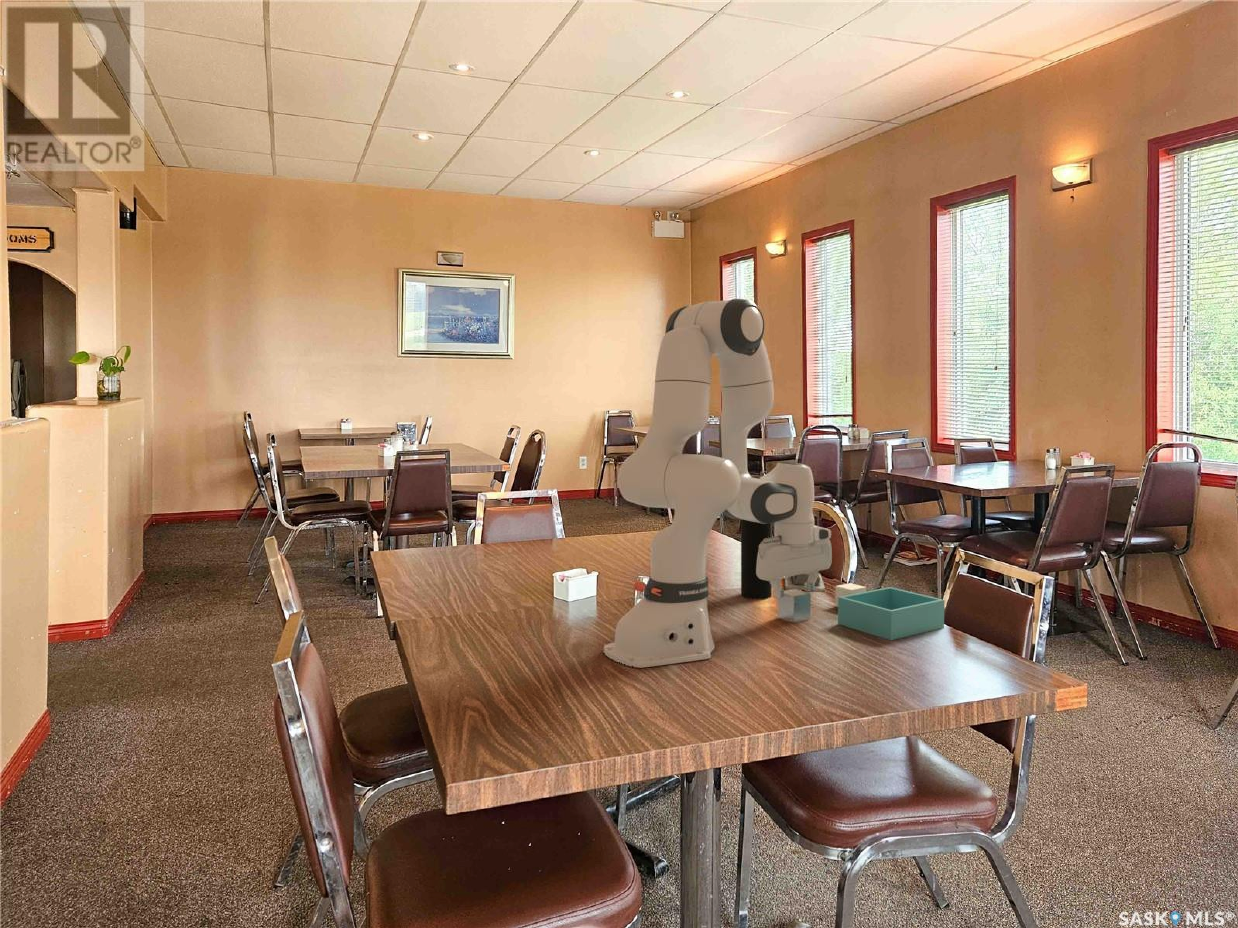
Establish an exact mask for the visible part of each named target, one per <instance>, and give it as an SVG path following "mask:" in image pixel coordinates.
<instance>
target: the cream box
mask: <svg viewBox="0 0 1238 928" xmlns="http://www.w3.org/2000/svg"><path fill="white" fill-rule="evenodd" d="M867 591H868V590H867V586H865V585H864V586H863V585H860V584H855V583H851V582H850V583H845V584H844V583H843V584H839V585H835V600H834V601H835V605H834V606H835V607H837V608H838V597H841V596H846V595H852V594H857V593H862V592H867Z"/></svg>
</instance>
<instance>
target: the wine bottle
mask: <svg viewBox="0 0 1238 928" xmlns="http://www.w3.org/2000/svg"><path fill="white" fill-rule="evenodd" d="M750 476H751V477H752V478H757V479H760V477H762V476H760V475H750ZM772 524H773V523H769V524H762V523H757V522H751V521H747V520H744V519H740V595H741V597H743V598H745V599H749V600H767V599H770V598H772V593H773V590H772V589H773V588H772V586H771V584H770V581H766V580H762V579H759V578H758V576H757V575H756V565H757V556H758V551H759V544H760V543H761V542H762V541H763V540H764V539H765V538H772V537H773V533H772V531H773V530H772V529H773V528H772V527H773V526H772Z"/></svg>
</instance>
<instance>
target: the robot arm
mask: <svg viewBox="0 0 1238 928" xmlns="http://www.w3.org/2000/svg"><path fill="white" fill-rule="evenodd" d="M764 334H765V320H764V315H763V313H762V312H761V309H760V308H759V307H758V306H757V304H756V303H754V301H752V300H749V299H744V298H743V299H742V298H733V299H731V300H728V299H727V300H716V301H715V300H708V301H703V302H700V303H696V304H693V305H685V306H683V307H680V308H678V309H676V310H674V311H673V312H672V313H671V314H670V315H669V317H668V320H667V322H666V325H665V334H664V335H663V337H662V338H661V339H662V340H661V342H660V346H659V349H658V356H657V360H656V367H655V376H654V377H655V378H654V389H653V390H654V391H653V392H654V393H653V403H652V415H651V420H650V424H649V427H648V430H647V432H646V434H645V436H644V439H643V440H642V442H641V443H640V445H639V446H638V447H637V448H636V450H635V451H634V452H633V453H632V454H630V455H629V456H627V458H625V460H624V461H623V462H622V463H621V465H620V466H619V467H620V468H619V470H618V474H617V484H618V489H619V492H620V494H621V496H622V497H623V499H624V500H625V501H627V502H630V503H634V504H636V505H639V506H643V507H647V508H659V509H660V508H661V509H672V510H674V517H673V520H672V523H671V525H669V526H667V527H664V528H663V529H661V530H659V531H658V532H657V533H656V534H655V535H654V536H653V537H652V539H651V541H650V576H649V578H648V580H647V583H645V582H644V581H641V580H636V581H634V583H633V584H632V585H633V590H634V591H637V592H639V593H643V597H642V598H641V599H640V600H639V601H638V602H637V603H636V604H635V605H634V606H633V607H631V609H630V610H629V611H627V612H626V614H625V615H623V616H622V617H621V618H620V619H619V620H618V622H617V624H616V628H615V634H614V642H609V643H608V644H605V645H604V646H603V654H604V653H605V654H604V655H605V656H607V657H608V658H609V659H611V660H612V659H613V660H612V661H614V662H617V663H619V662H620V663H619V664H621V663H622V665H624V664H625V666H628V667H632V666H633V668H648V667H649V668H650V667H658V666H665V665H666V666H667V665H673V664H679V663H686V662H695V661H702V660H708V659H710V658H711V656H712V655H711V653H712V652H713V651H714V650H715V643H714V639H713V636H712V632H711V631H712V630H711V626H710V620H709V619H710V618H709V611H708V598H709V595H710V594H709V593H710V592H709V578H708V577H707V556H708V555H707V552H708V540H709V538H710V537H709V536H710V533H711V531H712V528H713V526H714V524H715V523H716V521H717V520H718V518H719V517H720V516H721V515H724V516H725V517H727V518H730V519H734V520H741V519H744V520H747V521H751V522H757V523H762V524H769V523H772V524H773V533H774V534H773V536H772V538H765V539H764V540H763V541H762V542H761V543H760V544H759V551H758V556H757V565H756V575H757V576H758V578H759V579H762V580H766V581H770V584H771V586H772V589H773V597H774V598H776V599H778V598H781V597H784V591H785V589H783V588H781V586H780V584H781V582H782V579H785V577H790V576H795V575H800V574H805V573H808V574H809V577H808V580H807V582H805V590H806V591H805V592H814V591H813V590H815V582H816V580H817V578H818V575H819V574H820V573H819V572H820V571H824V570H828V569H829V568H830V567H831V565H832V561H833V560H832V559H833V556H832V555H833V554H832V551H833V550H832V543H831V540H830V539H831V538H832V530H831V529H828V528H825V527H821V526H818V525H816V524H815V516H814V512H813V509H814V504H815V483H814V475H813V472H812V469H811V467H810V466H808V465H807V464H806V463H805V464H804V463H800V462H799V463H798V462H791V461H786V460H785V461H783V460H782V461H779V462H777V463H776V466H775V467H774V468H773V469H772V470H770V471H769V472H768V473H766V474H764V475H763V476H762V477H760V479H757V478H752V477H751V476H752V475H751V474H750V473H749V471H748V451H747V450H748V449H747V447H748V444H747V439H748V436H749V433H750V431H751V429H753V427H755V426H757V425H758V424H760V423H761V422H763V421H764V420H765V419H766V418H767V417H768V416H769V415H770V414H771V412H772V409H773V408H774V401H775V390H774V389H775V388H774V380H773V374H772V368H771V367H772V366H771V362H770V359H769V357H770V356H769V354H768V351H767V347H766V345H765V341H764V340H763V339H764ZM712 357H716V359H717V360H718V363H719V364H718V365H719V382H720V390H721V412H720V415H719V422H718V445H719V447H718V448H719V449H718V450H719V456H715V455H711V454H690V453H683V452H684V451H683V450H684V447H685V445H686V443H687V441H688V440H689V439H690V438H691V437H693V436H694V435H696V434H698V433H700V432H701V431H703V430H704V429H705V427H706V426H707V424H708V423H709V420H710V405H711V404H710V401H711V399H710V398H711V378H712V376H711V374H712V373H711V371H712V368H711V359H712Z"/></svg>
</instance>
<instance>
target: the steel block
mask: <svg viewBox="0 0 1238 928" xmlns="http://www.w3.org/2000/svg"><path fill="white" fill-rule="evenodd" d="M777 602H778V603H777V611H778V613H777V614H778V615H777V616H778V617H777V618H778V619H780V620H784V621H785V622H786V621H787V622H790V623H792V624H793V623H800V622H804V621H805V622H806V621H810V620H811V592H809V591H800V590H797V589H792V590H784V597H781V598H777Z"/></svg>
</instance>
